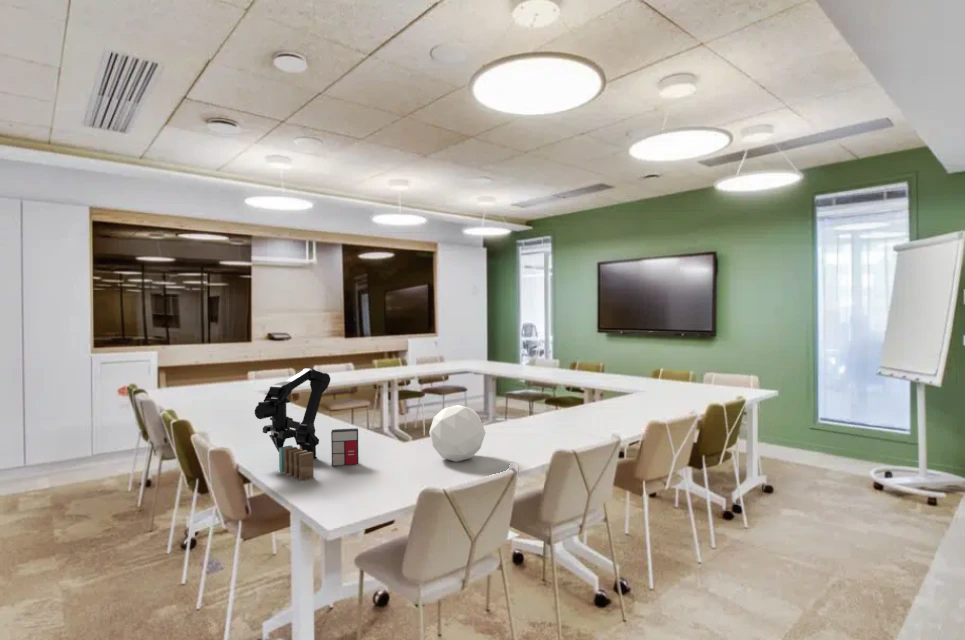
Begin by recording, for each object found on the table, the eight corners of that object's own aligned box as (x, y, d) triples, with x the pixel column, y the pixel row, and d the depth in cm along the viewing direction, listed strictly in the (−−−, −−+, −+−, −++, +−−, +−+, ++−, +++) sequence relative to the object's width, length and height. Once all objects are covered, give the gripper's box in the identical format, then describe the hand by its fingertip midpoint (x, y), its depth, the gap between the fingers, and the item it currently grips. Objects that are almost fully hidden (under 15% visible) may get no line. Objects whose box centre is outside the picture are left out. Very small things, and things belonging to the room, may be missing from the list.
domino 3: (289, 475, 212) (288, 450, 212) (300, 472, 216) (300, 448, 215) (291, 476, 210) (291, 451, 210) (303, 473, 214) (302, 449, 214)
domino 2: (284, 473, 214) (283, 449, 214) (295, 470, 218) (295, 446, 218) (286, 474, 213) (286, 450, 213) (298, 471, 217) (297, 447, 217)
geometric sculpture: (463, 482, 228) (460, 445, 212) (421, 454, 240) (415, 417, 224) (496, 446, 242) (495, 409, 227) (454, 421, 254) (451, 385, 239)
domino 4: (294, 477, 209) (293, 452, 209) (305, 474, 213) (305, 450, 213) (296, 478, 208) (296, 453, 208) (308, 475, 212) (307, 450, 211)
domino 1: (279, 471, 217) (278, 447, 217) (290, 469, 221) (290, 445, 221) (281, 472, 216) (281, 448, 216) (293, 469, 220) (292, 446, 219)
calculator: (331, 467, 223) (331, 431, 223) (332, 464, 227) (331, 429, 227) (358, 465, 225) (357, 430, 225) (358, 462, 230) (358, 428, 229)
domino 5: (299, 479, 206) (298, 454, 206) (310, 476, 210) (310, 451, 210) (301, 480, 205) (301, 455, 205) (313, 477, 209) (313, 452, 209)
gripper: (308, 414, 221) (308, 451, 221) (286, 409, 234) (287, 444, 234) (283, 418, 213) (283, 457, 213) (261, 413, 225) (262, 449, 226)
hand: (279, 451), depth 222 cm, fingers closed
